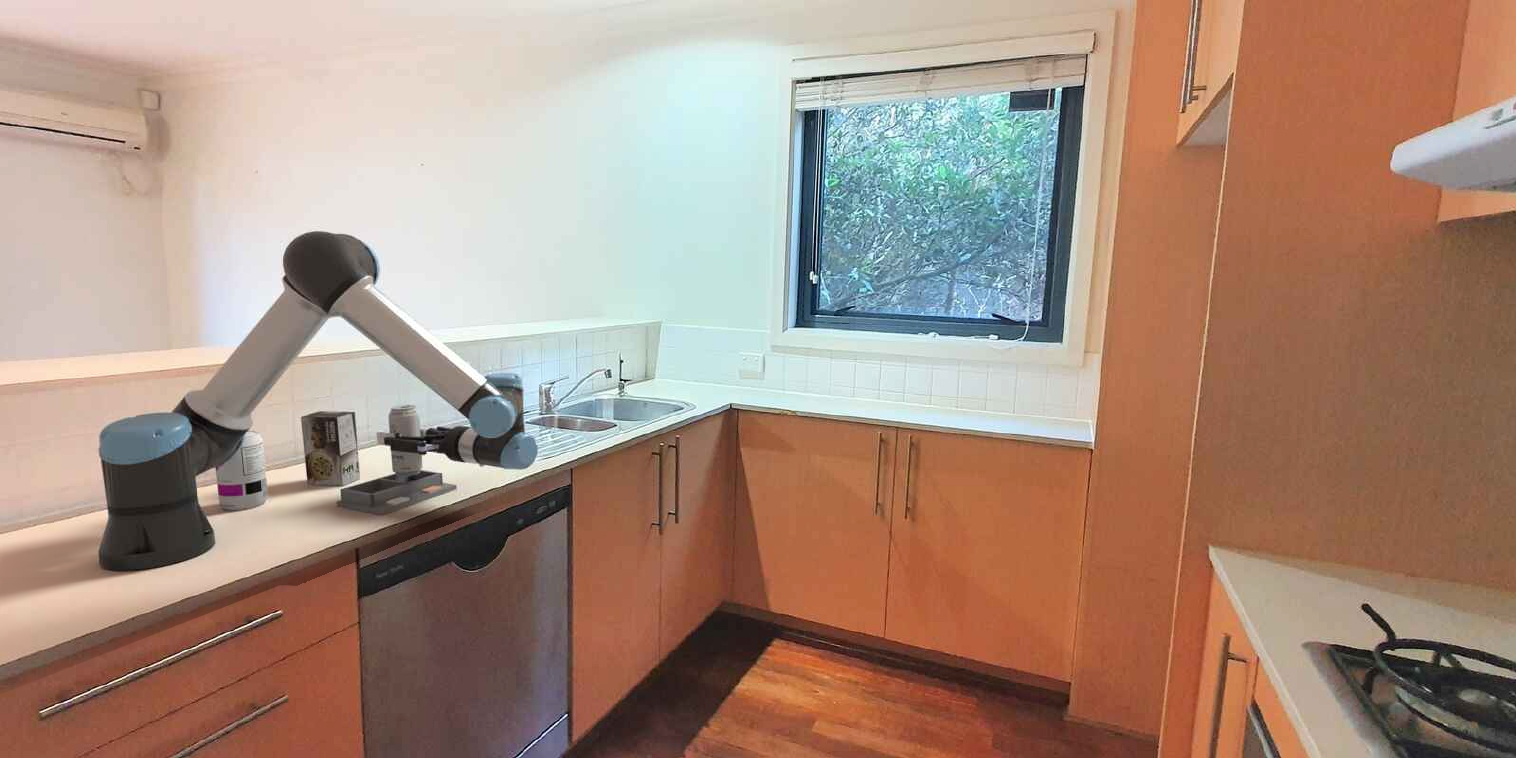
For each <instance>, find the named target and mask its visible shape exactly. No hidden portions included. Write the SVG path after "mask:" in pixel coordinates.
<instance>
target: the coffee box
mask: <svg viewBox="0 0 1516 758" xmlns="http://www.w3.org/2000/svg"><path fill="white" fill-rule="evenodd" d="M300 421H301V433H302V441H303V453H304V462H305V471H306V474H305V475H306V484H307V485H310V486H343V487H344V486H346V485H348V484H351V483H353V482H355V481H358V480H360V479H361V475H360V463H359V461H360V459H359V448H358V436H357V435H358V434H357V425H356V424H357V422H356V421H357V420H356V412H355V411H331V410H330V411H329V410H327V411H322V410H320V411H317V412H316V411H315V412H312V413H309V414H307V415H302V416H300Z"/></svg>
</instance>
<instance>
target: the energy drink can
mask: <svg viewBox="0 0 1516 758" xmlns="http://www.w3.org/2000/svg"><path fill="white" fill-rule="evenodd" d="M420 425H421V423H420V413H419V411H418V409H416V405H412V404H402V405H395V406H392V407H390V411H389V413H388V429H389V433H393V434H395V433H399V434H401V436H413V437H421V436H420V428H421V426H420ZM390 453H391V454H390V455H391V457H390V458H391V468H392V469H391V470H392V472H393V473H394V474H396V475H397V476H411V475H416V474H418V473H420V470H423V468H424V466H423V455H420V454H417V453H408V452H400V451H391V450H390Z"/></svg>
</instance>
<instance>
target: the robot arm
mask: <svg viewBox="0 0 1516 758" xmlns="http://www.w3.org/2000/svg"><path fill="white" fill-rule="evenodd" d="M378 258H379V257H378V256H377V255H376V252H375V251H374V250H373V249H372V248H371V247H370V246H369V245H368V243H366V242H365V241H362V239H359V238H357V237H355V236H353V235H350V234H346V233H334V232H329V231H322V230H321V231H320V230H315V231H309V232H305V233H302V234H300V235H298V236H296V237H294V239H293V240H291V241H290V242H289V244H288V245H287V246H286V248H285V250H284V253H283V257H282V267H283V272H284V275H283V277H282V279H281V281H282V285H283V288H284V291H283V292H282V293H281V294H280V295H279V297H278V298H277V299H275V302H273V304H272V305H271V306H270V308H269V309H268V310H267V311H266V312H265V313H264V315H263V316H262V317H261V318H260V319H259V321H258V322H257V324H255V326H254V327H252V329H251V331H249V333H248V334H247V335H246V337H245V338H244V339H242V341H241V343H240V344H239V345H238V346H237V347H236V349H235V350H234V351H233V352H232V353H231V354H230V356H228V358H227V360H226V361H224V363H223V365H221V367H220V368H219V369H218V370H217V372H216V373H215V374H214V375H213V377H212V378H210V380H209V381H208V382H207V384H206V385H205V386H204V388H203V389H198V390H190V391H188V392H187V393H186V394H185V395H184V396H183V398H182V399H181V400H180V401H179V403H178V404H177V405H176V406H175V408H174V409H173V410H172V411H171V412H168V411H167V412H153V413H142V414H139V415H138V414H137V415H136V416H132V417H124V418H121V419H118V420H116V421H113V422H111V423H109V424H107V425H106V426H105V427H103V429H102V430H101V431H100V433H99V437H98V439H99V446H98V456H99V457H100V463H101V471H102V479H103V484H104V492H105V500H106V506H107V507H106V508H107V515H108V516H107V517H108V518H107V521H106V525H105V529H104V532H103V535H102V538H101V540H100V545H99V548H98V553H97V554H98V563H99V566H100V568H102V569H106V570H108V571H109V570H111V571H135V570H136V571H137V570H145V569H152V568H158V567H162V566H167V565H171V564H176V563H180V562H183V561H186V560H189V559H192V558H195V557H198V556H199V555H202V554H204V553H206V552H208V551H209V550H210V549H211V550H212V549H213V548H214V546H215V544H216V536H215V531H214V528H213V527H212V525H211V523H210V521H209V520H208V517H207V516H206V514H205V512H204V511H203V509H202V506H201V505H200V503H199V498H198V487H197V479H196V478H197V476H200V475H201V474H203V473H206V472H207V471H210V470H212V469H214V468H215V469H216V467H218V466H220V465H222V464H224V463H225V462H227V461H228V460H230V459H231V458H232V457H233V456H234V455H235V454H236V453H237V452H238V451H239V450H240V448H241V447H242V445H243V443H244V439H245V434H246V433H247V431H250V430H251V428H252V427H253V424H254V422H253V419H252V415H251V414H252V412H253V411H254V410H256V408H257V406H259V404H260V403H261V402H262V400H264V398H265V397H266V396H267V394H268V393H269V392H270V391H271V389H272V388H274V386H275V385H276V384H277V382H278V381H279V380H280V379H281V377H282V376H283V375H284V374H285V373H286V371H287V370H288V369H289V368H290V366H291V365H292V364H293V363H294V361H296V359H297V358H298V357H299V355H300V354H301V353H302V352H303V351H304V349H305V348H306V347H307V346H308V344H309V343H310V342H311V341H312V339H313V338H314V337H315V336H316V335H317V333H319V331H320V330H321V328H322V327H323V326H324V325H325V324H326V322H327V321H328V320H329V319H331V318H338V317H339V318H342V319H343V320H344V321H346V322H347V323H348V324H349V325H350V326H352V327H353V328H355V329H356V330H357V331H359V333H361V335H363V336H364V337H366V338H367V339H368V340H369V341H371V343H373V344H374V345H375V346H376V347H378V348H379V349H381V350H382V351H383V352H384V353H385V354H386V355H388V356H389V357H391V358H392V359H393V360H394V361H396V362H397V363H398V364H399V365H400V366H402V367H403V368H405V370H407V371H408V372H409V373H410V374H411V375H413V376H415V378H417V379H418V380H419V381H420V382H421V383H423V384H424V385H425V386H427V387H428V388H429V389H430V390H432V392H434V393H435V394H437V396H439V397H441V398H442V399H443V400H444V401H445V402H447V403H448V404H449V405H450V406H452V407H453V408H454V409H455V410H457V412H459V413H460V414H461V415H462V416H464V417H465V418H466V419H467V420H468V421H469V424H470V426H464V425H459V426H458V425H457V426H453V427H452V428H451V427H445V426H437V427H436V428H433V427H429V428H427V427H425V428H424V427H420V436H421V437H413V436H401V434H399V433H395V434H393V433H390V432H385V431H384V432H383V431H378V432H377V431H376V441H377V443H376V444H377V445H379V446H386V447H389V448H390V452H391V451H400V452H408V453H417V454H420V455H422V456H426V455H427V452H429V453H431V452H433V453H437V454H444V455H445V456H446V457H447V458H448V459H449V460H450V461H453V462H459V463H465V464H466V463H468V464H474V465H479V467H481V468H482V467H485V466H488V467H494V468H499V469H504V470H526V469H528V468H529V467H530V466H532V465H533V464H534V462H535V461H536V458H537V456H538V453H539V452H538V451H539V447H538V442H537V440H536V438H535V437H534V435H532V434H530V433H527V432H525V431H526V430H525V429H526V427H525V421H524V418H525V416H524V388H523V380H522V376H521V375H520V374H518V373H515V372H514V373H512V372H499V373H491V374H490V373H489V374H486V375H485V376H484V375H482V374H480V373H479V372H478V371H477V370H476V369H474V367H472V366H471V365H470V364H468V362H466V361H465V360H463V358H461V357H460V356H459V355H458V354H456V352H454V351H453V350H452V349H451V348H450V347H448V346H447V345H446V344H444V343H443V342H442V341H441V340H440V339H438V338H437V337H436V336H435V335H434V334H432V333H431V332H430V331H429V330H428V329H426V327H424V326H423V325H422V324H420V323H419V322H418V321H417V320H416V319H414V318H413V317H412V316H411V315H410V314H408V313H407V312H406V311H405V310H404V309H402V308H401V307H400V306H399V305H398V304H396V303H395V302H394V301H393V300H392V299H390V297H388V296H387V295H386V294H384V293H383V292H382V291H381V290H380V289H379V288H377V287H376V284H377V282H378V280H379V278H380V275H381V269H380V268H381V267H380V266H381V265H380V261H379V259H378Z"/></svg>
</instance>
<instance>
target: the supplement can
mask: <svg viewBox="0 0 1516 758" xmlns="http://www.w3.org/2000/svg"><path fill="white" fill-rule="evenodd" d="M266 472H267V470H266V462H265V451H264V440H263V437H261V435H260V434H259V432H258V431H256V430H248V431H247V433H246V434H245V439H244V443H243V445H242V447H241V448H240V450H239V451H238V452H237V453H236V454H235V455H234V456H233V457H232V458H231V459H230V460H228V461H227V462H225V463H224V464H222V465H220V466H218V467H215V475H216V483H217V484H216V485H217V494H218V495H217V496H218V503H219V504H218V505H219V507H220V508H223V510H225V509H226V510H225V511H241V510H248V509H253V508H256V507H260V506H262V505H264V504H265V503H266V501H267V500H268V499H269V494H268V484H267V483H268V481H267V474H266Z"/></svg>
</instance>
